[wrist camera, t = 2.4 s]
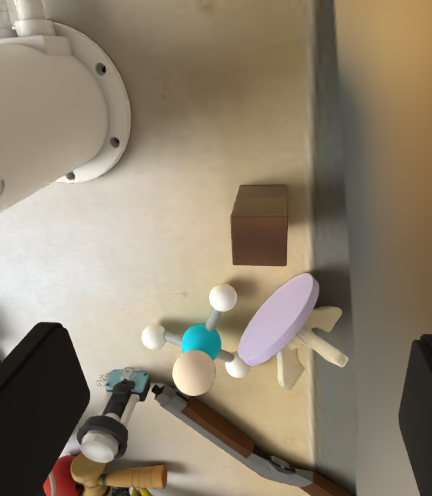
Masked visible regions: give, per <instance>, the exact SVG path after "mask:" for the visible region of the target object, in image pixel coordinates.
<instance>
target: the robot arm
mask: <svg viewBox="0 0 432 496" xmlns="http://www.w3.org/2000/svg"><path fill="white" fill-rule="evenodd" d="M14 3H15V6H16V10H17V14H18V17H19V20H18V21H14V24H15V25H14V26H11V22H10V18H9V15H8V8H7V4H6V0H0V212H2V211H4V210H6V209H7V208H9V207H11V206H12V205H14V204H16V203H18V202H19V201H21V200H23V199H25V198H26V197H28V196H30V195H31V194H33V193H35V192H37V191H38V190H40V189H42V188H44V187H45V186H47V185H49V184H50V183H52V182H54V181H56V182H61V183H68V184H74V183H84V182H87V181H91V180H94V179H96V178H98V177H99V176H101V175H103V174H105V173H106V172H107V171H108V170H110V169H111V168H112V167H113V166H114V165H115V164H116V163H117V162H118V160H119V159H120V158H121V156H122V154H123V152H124V150H125V149H126V146H127V143H128V139H129V136H130V129H131V110H130V103H129V99H128V95H127V91H126V88H125V85H124V83H123V81H122V78H121V76H120V74H119V72H118V70H117V69H116V67H115V66H114V64H113V63H112V61H111V59H110V58H109V57H108V56H107V55H106V54H105V52H104V51H103V50H102V49H101V48H100V47H99V46H98V45H97V44H96V43H95V42H93V41H92V40H91V39H90V38H88V37H87V36H86V35H84V34H83V33H81V32H79V31H77V30H75V29H74V28H72V27H69V26H66V25H63V24H60V23H56V22H52V20H48V19H46V17H45V13H44V9H43V4H42V0H14ZM104 65H105V67H106V72H104V71H103V66H104ZM116 138H117V139H119V142H120V143H118V142H117V141H116ZM89 401H90V390H89V388H88V385H87V382H86V379H85V377H84V374H83V371H82V369H81V366H80V363H79V360H78V358H77V355H76V352H75V349H74V347H73V344H72V341H71V338H70V336H69V333H68V331H67V329H66V328H64V327H63V326H62V324H60V323H54V322H40V323H38V324H36V325H35V326H34V327H33V328H32V329H31V331H30V332H29V333H28V334H27V335H26V336H25V337H24V338H23V339H22V340H21V342H20V343H19V344H18V345H17V346H16V347H15V348H14V349H13V350H12V351H11V353H10V354H9V355H8V356H7V357H6V358H5V359H4V360H3V361H2V362H1V363H0V496H38V494H39V492H40V490H41V488H42V487H43V485H44V483H45V481H46V479H47V478H48V476H49V474H50V472H51V470H52V469H53V467H54V465H55V463H56V461H57V460H58V458H59V456H60V454H61V452H62V451H63V449H64V447H65V445H66V443H67V442H68V440H69V438H70V436H71V435H72V433H73V431H74V429H75V427H76V426H77V424H78V422H79V420H80V418H81V417H82V415H83V413H84V411H85V409H86V408H87V406H88V404H89ZM399 426H400V430H401V433H402V437H403V440H404V443H405V447H406V450H407V453H408V456H409V460H410V463H411V466H412V470H413V473H414V476H415V479H416V483H417V486H418V489H419V492H420V496H432V334H423V335H422V336H421V338H420V340H414V341H413V343H412V347H411V352H410V358H409V362H408V368H407V373H406V378H405V384H404V388H403V394H402V400H401V404H400V410H399Z"/></svg>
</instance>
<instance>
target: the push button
mask: <svg viewBox="0 0 432 496" xmlns="http://www.w3.org/2000/svg"><path fill="white" fill-rule="evenodd" d="M127 370H129V371H127ZM103 377H105V379H104V378H103ZM100 379H101V380H105V381H97V385H98V386H105V387H106V390H107V392H106V394H105V397H106V398H105V400H104V402H103V403H102V405H101V407H100V409H99V411H98V413H97V415H96V416H92V417H90V418H89V419H87V420H86V422H85V424H84V425H83V426H82V427H81V428H80V429H79V431H78V433H77V440H78V442H79V444H80V445H81V447H80V448H81V451H82V453H83V454H84V455H85V456H86V457H87V458H89V459H91V460H92V461H96V462H99V463H108V462H110V461H112V460H113V459H115V458H119V457H121V456H123V455H124V453H125V452H126V449H127V440H128V430H127V429H126V426H127V424H128V421H129V419H130V417H131V414H132V412H133V409H134V407H135V404H136V402H139V401H141V402H143V401H145V399H146V396H147V394H148V391H149V388H150V381H149V375H148V373H147V372H137V371H133V369H132V368H125V369H124V370H113V371H112V373H111V375H100ZM106 380H107V381H106ZM100 382H101V383H102V384H100Z"/></svg>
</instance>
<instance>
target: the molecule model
mask: <svg viewBox="0 0 432 496" xmlns="http://www.w3.org/2000/svg"><path fill="white" fill-rule="evenodd" d="M209 300H210V303H211V305H212V306H213V309H212V312H211V314H210V316H209V318H208V321H207V323H206V324H196V325H193V326H191V327H190V328H189V329H188V330H187V331H186V332H185V333H184V335H183V337H182V336H179V335H177V334H174V333H171V332H168V331H166V330H165V329H164V327H162V326H161V325H158V324H151V325H149V326H147V327H146V328H145V329H144V331H143V333H142V341H143V344H144V345H145V346H146V347H147V348H149V349H152V350H156V349H159V348H161V347H162V346H163V345H164V344H165V343H166V341H168V342H170V343H173V344H176V345H178V346H181V347H182V351H183V354H182V355H181V356H179V358H178V359H177V360H176V362H175V364H174V367H173V379H174V383H175V384H176V386H177V388H178V389H179V390H180V391H181V392H183V393H185V394H187V395H191V396H197V395H201V394H203V393H205V392H207V391H208V390H209V389H210V388H211V387H212V385H213V383H214V381H215V377H216V367H215V364H214V362H213V360H214V359H215V358H217V359H220V360H223V361H226V369H227V371H228V373H229V374H230V375H231V376H233V377H236V378H241V377H244V376H245V375H247V374H248V372H249V371H250V367H251V366H250V365H248V364H247V363H245V362H244V361H243V360H242V359H241V358H240V357H239V354H238V352H234V353H229V352H226V351H224V350H221V339H220V336H219V334H218V332H217V331H216V330H215V327H216V325H217V323H218V320H219V318H220V316H221V313H222V312H223V311H228V310H230V309H232V308H233V307H234V306H235V304H236V301H237V294H236V291H235V290H234V288H233V287H232V286H230V285H228V284H218V285H216V286H215V287H214V288H213V289H212V290H211V292H210V295H209Z"/></svg>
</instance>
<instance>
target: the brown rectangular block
mask: <svg viewBox="0 0 432 496" xmlns="http://www.w3.org/2000/svg"><path fill="white" fill-rule="evenodd" d="M230 219H231V239H232V258H233V265H252V266H286V265H287V231H288V209H287V186H286V185H241V186H240V187H239V191H238V194H237V197H236V201H235V204H234V207H233V211H232V214H231V217H230Z"/></svg>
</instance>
